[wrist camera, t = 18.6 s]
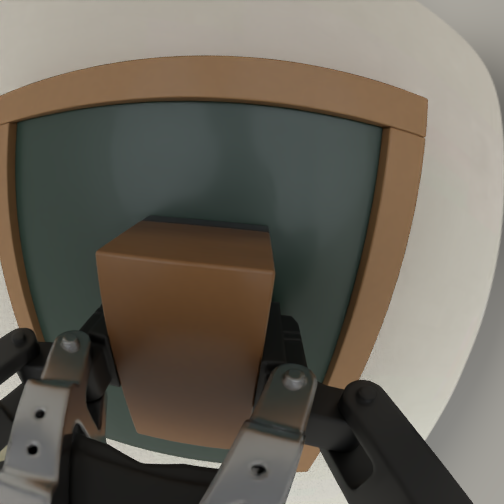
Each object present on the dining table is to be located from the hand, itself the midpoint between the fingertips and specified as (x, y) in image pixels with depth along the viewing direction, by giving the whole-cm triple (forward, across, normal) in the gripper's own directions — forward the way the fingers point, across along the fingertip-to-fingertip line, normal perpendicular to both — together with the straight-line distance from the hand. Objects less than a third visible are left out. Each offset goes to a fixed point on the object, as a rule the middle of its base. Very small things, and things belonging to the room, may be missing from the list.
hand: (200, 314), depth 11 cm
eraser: (+1, 0, 0) cm, 1 cm away
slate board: (+2, +2, +3) cm, 4 cm away
